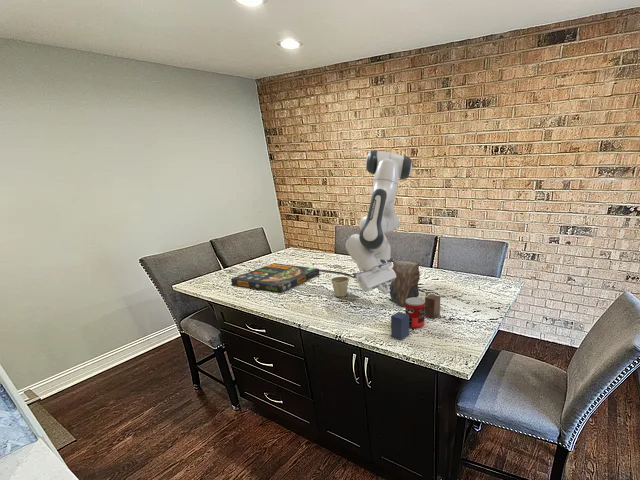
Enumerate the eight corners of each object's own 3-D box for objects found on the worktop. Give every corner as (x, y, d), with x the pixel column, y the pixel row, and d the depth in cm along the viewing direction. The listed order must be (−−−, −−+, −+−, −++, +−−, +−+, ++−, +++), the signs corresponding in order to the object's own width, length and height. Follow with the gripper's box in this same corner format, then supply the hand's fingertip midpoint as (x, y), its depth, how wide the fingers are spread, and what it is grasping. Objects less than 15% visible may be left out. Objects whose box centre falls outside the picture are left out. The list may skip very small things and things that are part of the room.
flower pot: (353, 292, 179) (352, 277, 175) (345, 299, 170) (343, 283, 167) (337, 291, 181) (336, 275, 178) (328, 297, 173) (327, 281, 170)
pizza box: (232, 284, 192) (230, 278, 191) (274, 268, 222) (273, 263, 221) (281, 292, 180) (280, 286, 178) (319, 274, 210) (318, 268, 208)
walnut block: (424, 316, 151) (424, 297, 147) (430, 312, 155) (430, 294, 151) (433, 318, 148) (434, 299, 145) (439, 315, 152) (440, 296, 148)
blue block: (391, 336, 133) (390, 315, 130) (398, 331, 137) (398, 311, 133) (401, 340, 130) (401, 319, 127) (408, 335, 134) (409, 314, 131)
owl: (387, 299, 170) (387, 261, 162) (408, 294, 176) (409, 257, 168) (401, 307, 160) (401, 267, 152) (422, 302, 166) (423, 263, 158)
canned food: (404, 321, 146) (404, 297, 142) (422, 320, 147) (422, 296, 143) (406, 329, 139) (406, 304, 135) (425, 328, 140) (426, 303, 136)
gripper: (357, 269, 139) (375, 296, 137) (388, 258, 154) (405, 283, 152) (350, 277, 143) (368, 304, 142) (381, 266, 158) (397, 290, 157)
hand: (387, 293), depth 147 cm, fingers closed
